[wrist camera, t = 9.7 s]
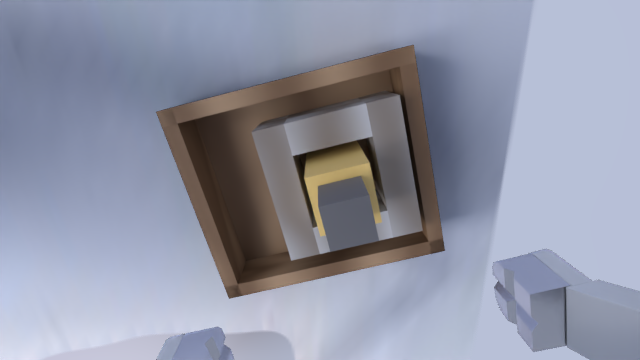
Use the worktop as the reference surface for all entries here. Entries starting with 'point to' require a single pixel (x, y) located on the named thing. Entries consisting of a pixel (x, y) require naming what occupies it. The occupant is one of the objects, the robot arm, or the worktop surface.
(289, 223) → the walled box
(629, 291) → the robot arm
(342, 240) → the connector
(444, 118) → the worktop surface
